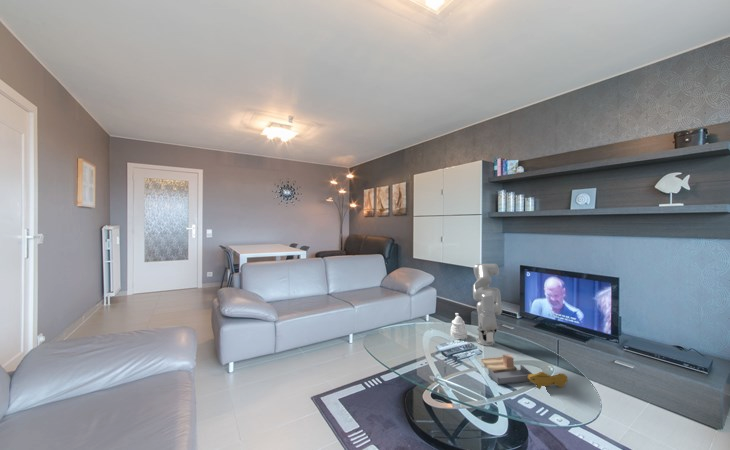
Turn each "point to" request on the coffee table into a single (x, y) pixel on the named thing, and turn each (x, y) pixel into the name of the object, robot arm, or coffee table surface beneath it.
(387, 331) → the coffee table surface
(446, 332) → the coffee table surface
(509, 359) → the terracotta block
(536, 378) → the decorative fish
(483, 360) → the board
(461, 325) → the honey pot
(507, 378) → the box
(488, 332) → the cream block
